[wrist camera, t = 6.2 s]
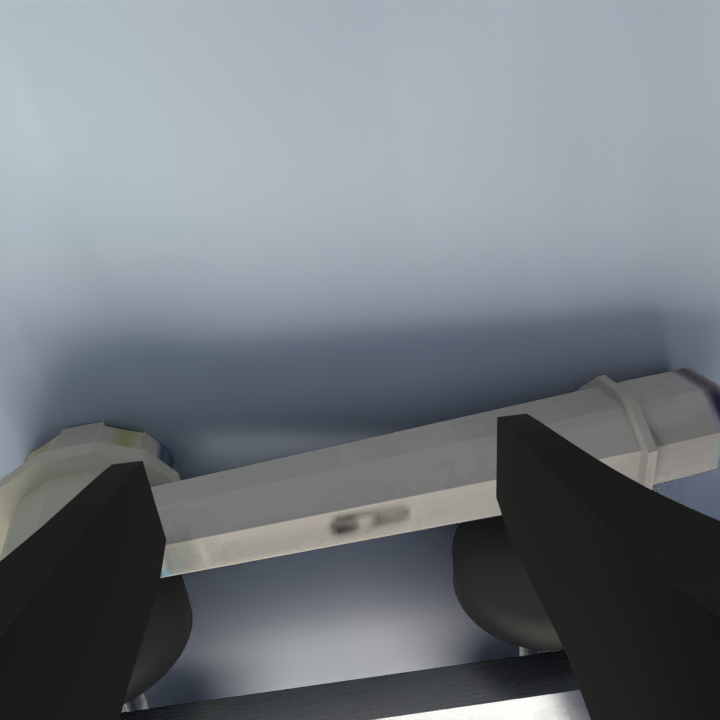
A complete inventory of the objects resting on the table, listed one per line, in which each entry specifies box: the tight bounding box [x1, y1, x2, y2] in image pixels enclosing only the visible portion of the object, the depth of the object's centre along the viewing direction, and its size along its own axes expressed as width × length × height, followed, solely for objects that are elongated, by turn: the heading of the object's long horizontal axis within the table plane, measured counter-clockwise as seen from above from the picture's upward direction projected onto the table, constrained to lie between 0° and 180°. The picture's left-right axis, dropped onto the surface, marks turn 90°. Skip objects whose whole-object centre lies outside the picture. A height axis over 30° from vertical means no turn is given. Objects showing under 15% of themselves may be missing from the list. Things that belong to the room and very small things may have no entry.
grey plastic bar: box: [0, 368, 720, 578], centre depth 21 cm, size 5×7×25 cm
